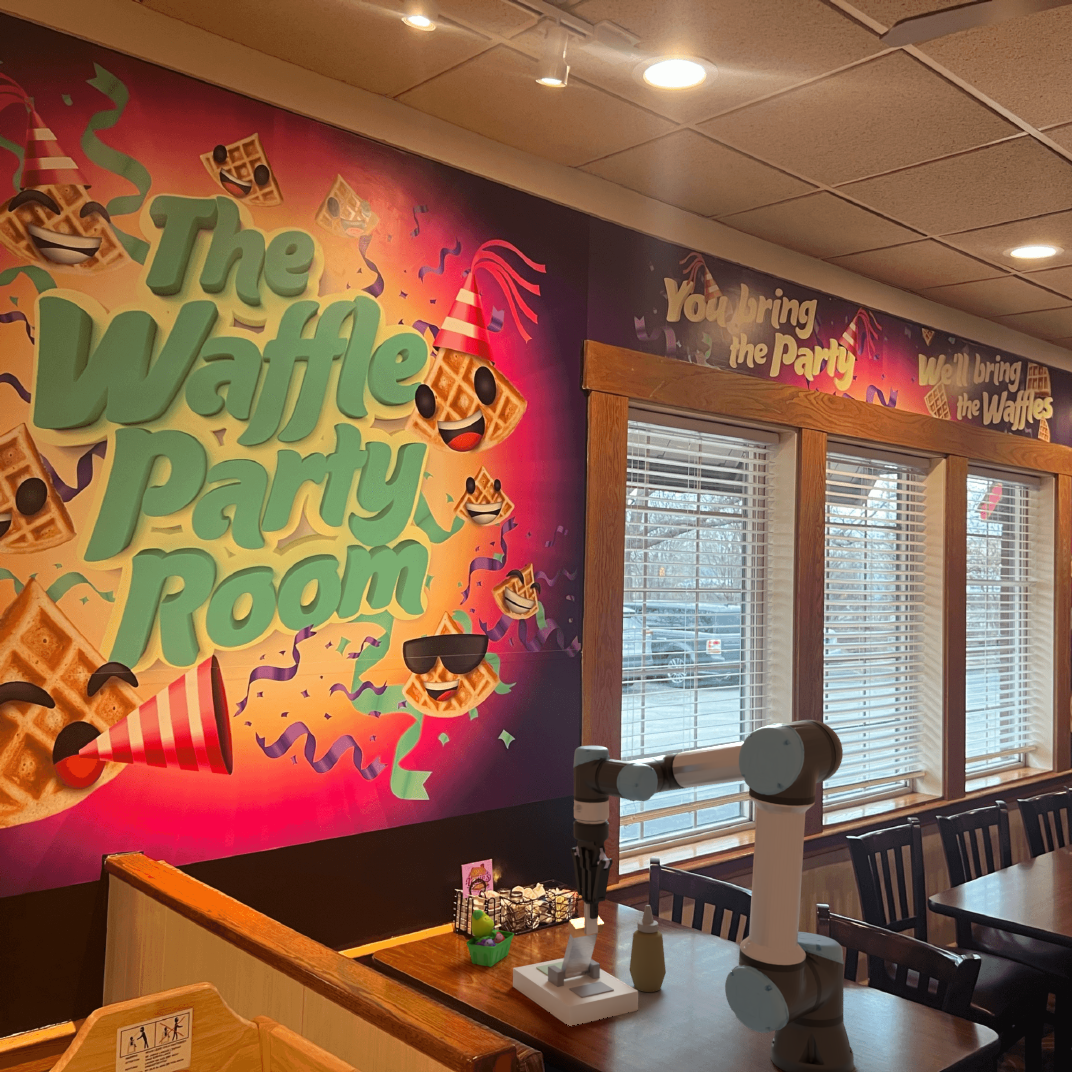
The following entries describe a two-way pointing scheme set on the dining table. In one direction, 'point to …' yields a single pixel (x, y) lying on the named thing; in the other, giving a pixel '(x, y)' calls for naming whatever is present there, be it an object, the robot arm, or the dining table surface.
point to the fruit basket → (487, 941)
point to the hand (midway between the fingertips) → (591, 932)
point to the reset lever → (579, 949)
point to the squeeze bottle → (647, 954)
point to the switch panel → (575, 992)
